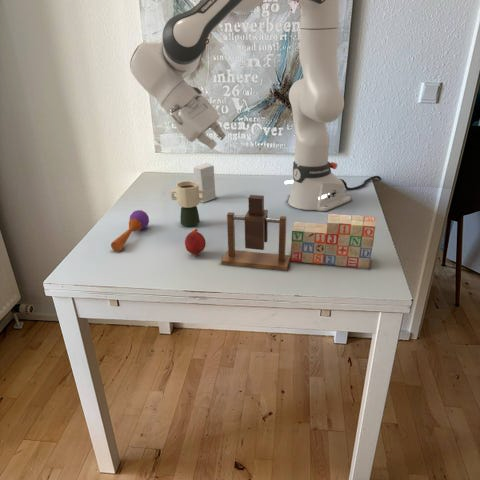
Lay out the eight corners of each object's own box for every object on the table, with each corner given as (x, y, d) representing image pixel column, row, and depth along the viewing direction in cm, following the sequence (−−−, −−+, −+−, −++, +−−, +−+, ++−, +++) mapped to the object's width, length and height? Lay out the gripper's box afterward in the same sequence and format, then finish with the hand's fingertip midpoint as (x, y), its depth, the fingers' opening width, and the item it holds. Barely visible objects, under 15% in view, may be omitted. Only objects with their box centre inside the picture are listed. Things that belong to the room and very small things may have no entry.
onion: (198, 261, 135) (196, 235, 131) (181, 256, 138) (179, 230, 133) (210, 253, 139) (208, 227, 135) (194, 249, 142) (192, 223, 137)
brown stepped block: (249, 239, 135) (249, 192, 127) (267, 240, 134) (268, 193, 126) (245, 248, 130) (244, 200, 122) (263, 250, 129) (263, 201, 121)
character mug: (208, 220, 160) (206, 181, 153) (205, 228, 154) (202, 188, 147) (176, 219, 161) (172, 180, 154) (171, 228, 155) (167, 187, 148)
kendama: (103, 238, 140) (131, 208, 155) (111, 256, 143) (137, 225, 158) (121, 236, 138) (148, 206, 153) (129, 254, 141) (154, 223, 156)
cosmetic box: (208, 195, 179) (206, 162, 172) (215, 198, 176) (214, 165, 170) (195, 200, 175) (193, 166, 169) (203, 203, 173) (201, 169, 166)
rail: (221, 264, 134) (219, 217, 126) (228, 253, 139) (226, 208, 132) (286, 270, 130) (288, 223, 122) (290, 259, 136) (292, 213, 128)
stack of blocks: (289, 261, 134) (291, 219, 127) (293, 252, 139) (295, 210, 132) (369, 268, 130) (375, 225, 123) (369, 258, 135) (375, 216, 128)
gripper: (175, 100, 117) (216, 144, 121) (200, 86, 133) (236, 125, 137) (159, 120, 121) (200, 161, 124) (186, 104, 137) (221, 141, 140)
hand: (219, 142), depth 131 cm, fingers open, 8 cm apart
